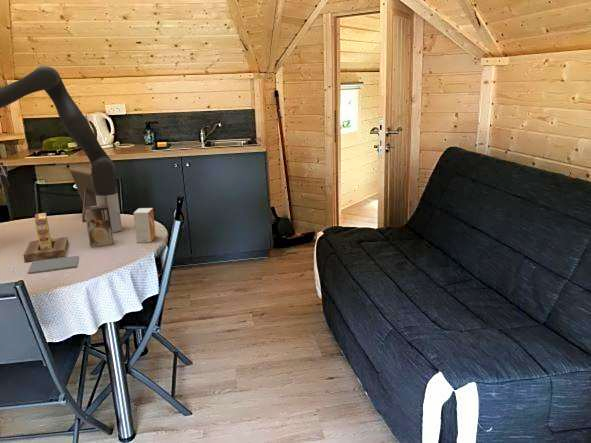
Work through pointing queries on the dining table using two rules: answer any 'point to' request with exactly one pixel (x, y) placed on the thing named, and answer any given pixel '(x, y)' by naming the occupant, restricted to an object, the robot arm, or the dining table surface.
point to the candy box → (43, 231)
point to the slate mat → (53, 264)
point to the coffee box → (98, 225)
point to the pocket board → (46, 250)
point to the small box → (144, 224)
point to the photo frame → (84, 186)
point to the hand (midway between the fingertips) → (3, 187)
